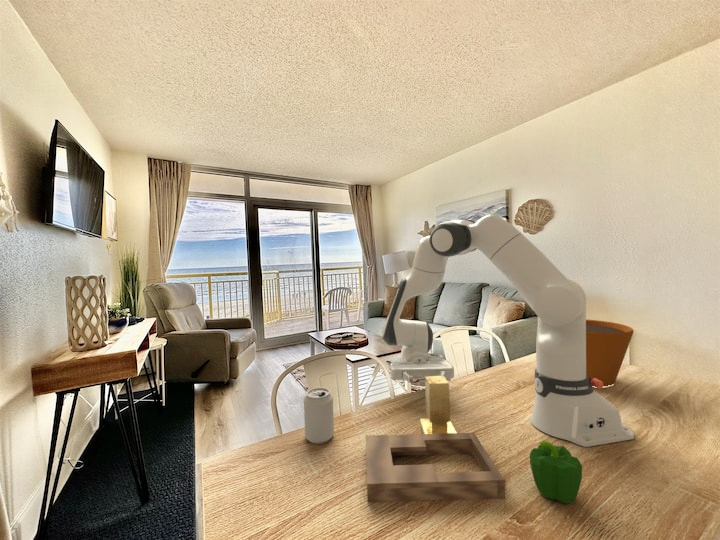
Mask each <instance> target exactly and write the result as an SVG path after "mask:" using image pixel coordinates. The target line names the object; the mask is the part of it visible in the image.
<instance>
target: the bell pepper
mask: <svg viewBox="0 0 720 540" xmlns="http://www.w3.org/2000/svg"><path fill="white" fill-rule="evenodd" d="M538 443H539V445H538V447H534V448H532V449H531V451H530V452H529V465H530V469H531V470H530V471H531V473H532V478H533V480H534V483H535V486H536V488H537V490H538V491H539V493H540V494H541V495H542V496H543V497H544V498H546V499H548V500H558V502H560V503H563V504H567V505H568V504H570V503H572V502H574V501H575V500H576V499H577V496H578V494H579V490H580V487H581V482H582V479H583V465H582V463H581V461H580V459H579V458H578V457H576V456H572V453H571V452H570V450H568V449H567V447H565V446H564V445H555V444H553V443H552V442H551V441H547V440H541V441H539V442H538Z"/></svg>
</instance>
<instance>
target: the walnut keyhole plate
mask: <svg viewBox="0 0 720 540" xmlns="http://www.w3.org/2000/svg"><path fill="white" fill-rule="evenodd" d="M365 454H366V456H365V457H366V459H365V460H366V493H367V494H366V495H367V502H368V503H374V502H376V503H377V502H378V503H382V502H414V501H415V502H416V501H454V500H456V501H458V500H482V499H483V500H485V499H486V500H491V499H492V500H493V499H506V478H504V475H502V473H501V471H500V470H499V469H498V467H497V465H496V464H495V462H494V461H493V460H492V457H490V455H489V453H488V452H487V450H486V449H485V447H484V445H483V443H482V442H481V441H480V439H479V438H478V436H477V435H476V433H475V432H457V433H441V434H423V433H417V434H416V433H414V434H413V433H412V434H410V433H409V434H382V435H381V434H379V435H377V434H376V435H369V434H368V435H365ZM467 454H469V455H470V454H471V455H472V457H473V458H474V460H475V462H476V464H477V465H478V467H479V469H480V470H481V471H456V472H455V471H453V472H451V471H449V472H448V471H447V472H436V471H435V467H434V464H432V463H431V464H430V463H429V464H428V463H427V464H400V465H399V464H398V465H397V464H395V465H394V463H393V457H394V456H395V457H396V456H398V457H399V456H425V455H426V456H430V455H431V456H432V455H433V456H434V455H436V456H437V455H467Z"/></svg>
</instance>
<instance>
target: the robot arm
mask: <svg viewBox="0 0 720 540" xmlns="http://www.w3.org/2000/svg"><path fill="white" fill-rule="evenodd" d="M476 250H478V251H481V253H482V254H484V255H485V257H486V258H488V260H490V262H491V263H492V264H493V265H494V266H495V267H496V269H498V270H499V271H500V272H501V273H502V274H503V275H504V276H505V277H506V278H507V280H508V281H509V282H510V283H511V285H513V287H514V288H515V289H516V290H517V292H518V294H519V295H520V296H521V297H522V299H523V300H524V301H525V303H526V304H527V305H528V306H529V307H530V308H531V310H532V311H534V313H535V315H536V316H537V328H536V339H535V347H536V348H535V351H536V353H535V354H536V361H535V363H536V368H535V369H534V390H535V396H534V397H535V398H534V403H533V407H532V412H531V415H530V416H529V417H530V419H529V421H530V423H531V424H532V425H533V426H534V427H535V428H536V429H538V430H539V431H541V432H543V433H545V434H547V435H549V436H552V437H555V438H558V439H561V440H566V441H569V442H570V443H573V444H576V445H579V446H581V447H584V448H585V447H586V448H588V447H594V446H601V445H606V444H610V443H611V444H613V443H616V442H617V443H618V442H624V441H628V440H629V441H630V440H634V439H635V435H634V432H633V431H632V429H630V428H629V426H627V425H626V424H625V423H623V422H622V418H621V415H620V412H619V410H618V408H617V407H616V406H615V405H614V404H612V402H610V401H609V400H607V399H606V398H605V397H603V396H602V395H601V394H599V393H598V392H597V391H595V390H594V389H595V388H593V387H592V385H593V386H595V387H597V388H596V389H603V388H602V387H603V384H602V383H603V382H602V381H600V380H598V379H596V378H593V379H591V377H589V376H587V375H586V320H587V306H586V305H587V297H586V293H585V290H584V289H583V288H582V286H581V285H580V284H578V282H576V281H575V280H571V279H569V278H567V276H565V275H564V274H563V273H562V272H561V271H560V270H559V269H558V268H557V266H555V264H554V263H552V261H551V260H550V259H549V258H548V257H547V256H546V255H545V254H544V253H543V252H542V251H541V250H540V249H539V248H538V247H537V246H536V245H535V244H533V243H532V242H531V241H530V240H529V239H528V238H527V236H525V235H524V234H523V233H522V232H521V231H519V229H518V228H516V227H515V226H513V224H511V223H510V222H508V221H507V220H505V219H504V218H502V217H500V216H499V215H497V214H492V213H491V214H488V215H485V216H483V217H481V218H480V219H478V220H477V221H474V220H470V219H464V220H463V219H462V220H461V219H454V220H449V221H443V222H441V223H438V224H436V226H434V227H433V228H432V230H431V232H430V235H427V236H424V237H422V238H421V239H420V240H419V242H418V246H417V248H416V250H415V255H414V257H413V258H414V259H413V263H412V266H411V267H412V268H411V270H410V272H409V274H408V275H407V276H406V277H404V278H402V279H401V280H400V281H399V283H398V286H397V287H396V291H395V293H394V295H393V299H392V302H391V304H390V308H389V310H388V313H387V316H386V318H385V319H384V322H383V325H382V326H381V339H382V340H383V341H384V342H385V343H386V345H388V346H401V352H400V354H401V355H400V357H401V359H402V361H394V362H392V363H391V364H388V370H389V371H390V376H391V379H392V380H394V381H406V382H407V383H408V384H412V383H414V381H415V380H425V376H444V377H445V378H446V380H452V379H454V378H455V367H454V366H453V364H451V362H450V361H449V360H447V359H445V358H444V356H443V355H442V354H436V353H429V352H430V351H431V350H432V346H433V342H434V333H433V330H432V328H431V326H430V325H429V323H428V322H427V321H422V320H412V319H411V320H410V319H403V318H400V317H401V314H402V312H403V309H404V306H405V304H406V302H407V301H409V300H410V299H412V298H414V297H417V296H421V295H427V294H430V293H432V292H434V291H436V290H438V289H439V287H440V286H441V285H442V283H443V280H444V277H445V272H446V266H447V262H448V259H449V258H450V257H455V256H462V255H466V254H468V253H472V252H474V251H476ZM591 384H592V385H591Z"/></svg>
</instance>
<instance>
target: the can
mask: <svg viewBox="0 0 720 540" xmlns="http://www.w3.org/2000/svg"><path fill="white" fill-rule="evenodd" d="M303 411H304V412H303V413H304V414H303V415H304V418H303V419H304V435H305V439H307V441H309V442H310V443H312V444H317V445H318V444H319V445H321V444H324V443H327V442H329V440H331V439H332V438H333V436H334V435H335V426H334V425H335V422H334V421H335V420H334V419H335V418H334V417H335V416H334V396H333V394H331V390H330V389H329V388H327V387H314V388H311V389H309V390H307V391H306V393H305V396H304V398H303Z"/></svg>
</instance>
